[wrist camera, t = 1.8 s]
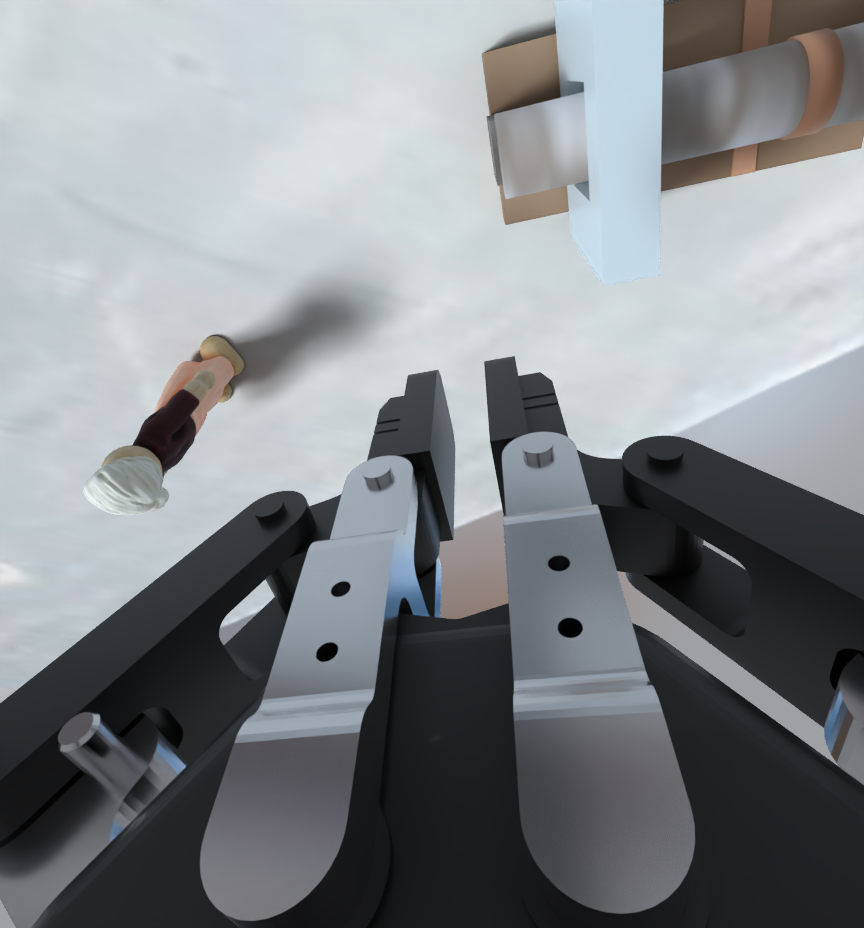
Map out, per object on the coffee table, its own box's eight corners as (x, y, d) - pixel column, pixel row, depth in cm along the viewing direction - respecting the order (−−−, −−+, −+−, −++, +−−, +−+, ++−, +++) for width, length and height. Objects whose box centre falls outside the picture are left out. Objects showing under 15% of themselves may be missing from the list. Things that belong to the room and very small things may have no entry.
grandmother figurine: (192, 309, 32) (65, 421, 22) (257, 335, 33) (163, 456, 23) (172, 413, 37) (58, 549, 26) (230, 435, 37) (141, 574, 27)
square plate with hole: (554, 2, 22) (590, -26, 16) (605, -12, 22) (664, -47, 15) (570, 235, 27) (603, 286, 21) (612, 226, 27) (659, 275, 20)
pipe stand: (477, 55, 25) (482, 49, 19) (882, -53, 22) (1043, -101, 16) (499, 219, 29) (509, 259, 23) (847, 143, 26) (966, 166, 20)
